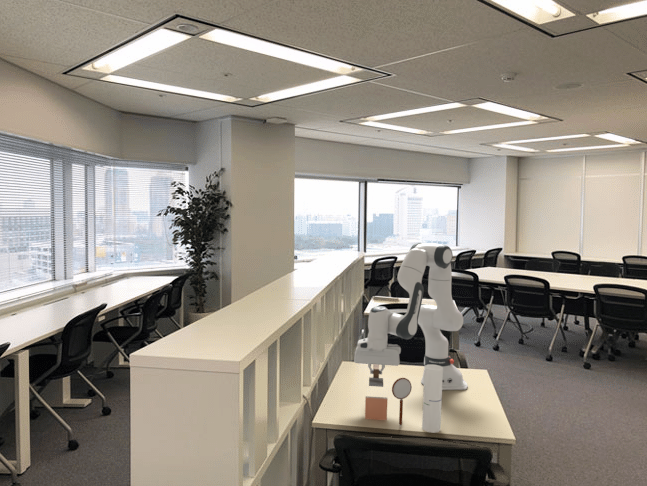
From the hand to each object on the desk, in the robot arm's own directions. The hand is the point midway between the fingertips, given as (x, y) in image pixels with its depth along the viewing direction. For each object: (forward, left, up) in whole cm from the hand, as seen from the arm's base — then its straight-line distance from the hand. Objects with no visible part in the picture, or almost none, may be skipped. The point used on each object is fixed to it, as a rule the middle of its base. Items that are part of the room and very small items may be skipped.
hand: (376, 373), depth 223 cm
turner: (0, +1, -2) cm, 2 cm away
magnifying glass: (-10, +22, -14) cm, 28 cm away
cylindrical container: (-22, +22, -14) cm, 34 cm away
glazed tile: (0, +16, -14) cm, 21 cm away
